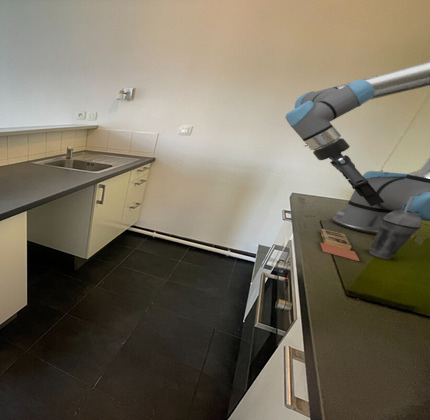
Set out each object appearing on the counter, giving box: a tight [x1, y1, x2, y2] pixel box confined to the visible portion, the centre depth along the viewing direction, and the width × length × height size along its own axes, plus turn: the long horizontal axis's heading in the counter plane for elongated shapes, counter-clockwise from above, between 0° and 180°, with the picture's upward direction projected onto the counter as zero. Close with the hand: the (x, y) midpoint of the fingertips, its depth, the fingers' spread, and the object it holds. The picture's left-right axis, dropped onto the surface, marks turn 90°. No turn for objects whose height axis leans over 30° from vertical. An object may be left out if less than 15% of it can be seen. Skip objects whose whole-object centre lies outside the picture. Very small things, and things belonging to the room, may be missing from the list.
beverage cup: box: [368, 197, 423, 260], centre depth 75 cm, size 7×7×20 cm
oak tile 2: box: [321, 235, 352, 250], centre depth 84 cm, size 6×6×2 cm
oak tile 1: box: [319, 228, 349, 241], centre depth 89 cm, size 6×6×2 cm
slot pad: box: [319, 242, 360, 262], centre depth 80 cm, size 8×8×1 cm
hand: (371, 199), depth 77 cm, fingers open, 13 cm apart
